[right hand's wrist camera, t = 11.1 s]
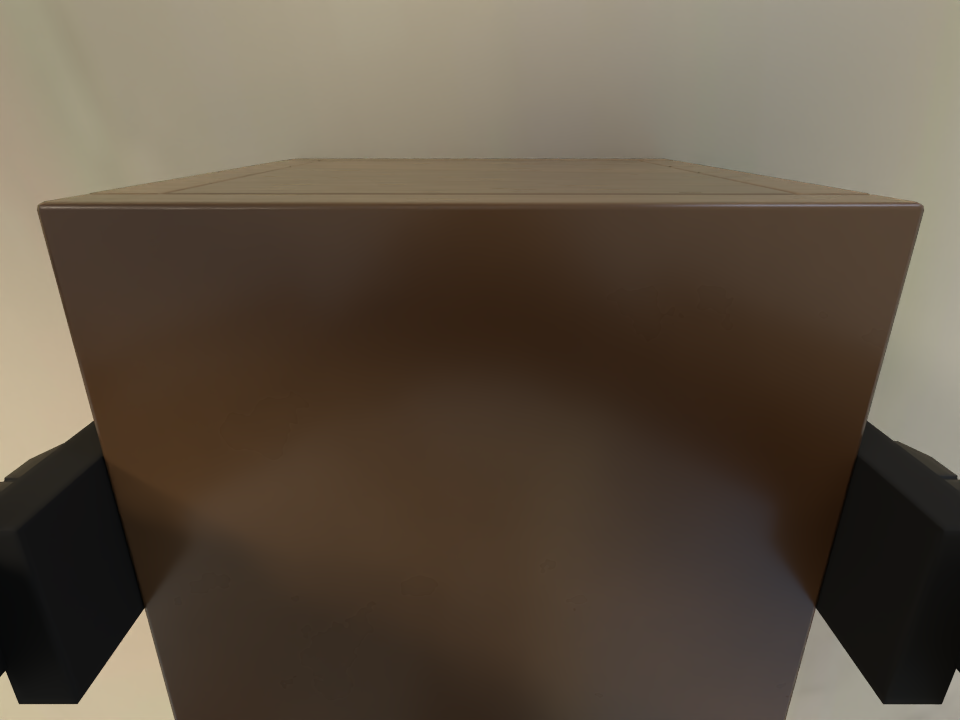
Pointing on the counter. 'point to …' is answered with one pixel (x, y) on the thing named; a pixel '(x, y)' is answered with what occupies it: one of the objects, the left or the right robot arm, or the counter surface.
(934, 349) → the counter surface
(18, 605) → the right robot arm
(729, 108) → the counter surface
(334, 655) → the cabinet
